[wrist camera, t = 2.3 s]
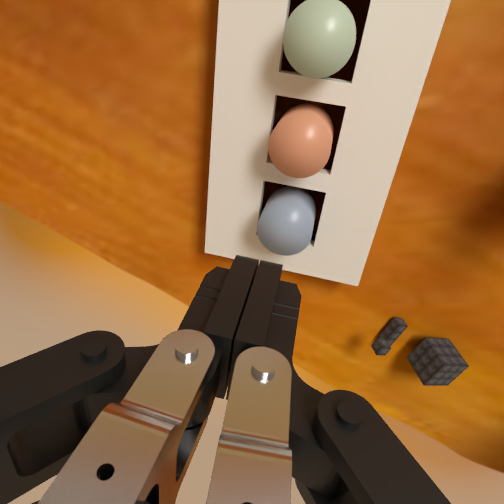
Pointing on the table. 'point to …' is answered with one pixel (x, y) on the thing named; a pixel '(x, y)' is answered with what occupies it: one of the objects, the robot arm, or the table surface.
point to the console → (350, 138)
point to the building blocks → (425, 355)
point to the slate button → (287, 221)
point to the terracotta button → (301, 141)
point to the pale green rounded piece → (319, 37)
